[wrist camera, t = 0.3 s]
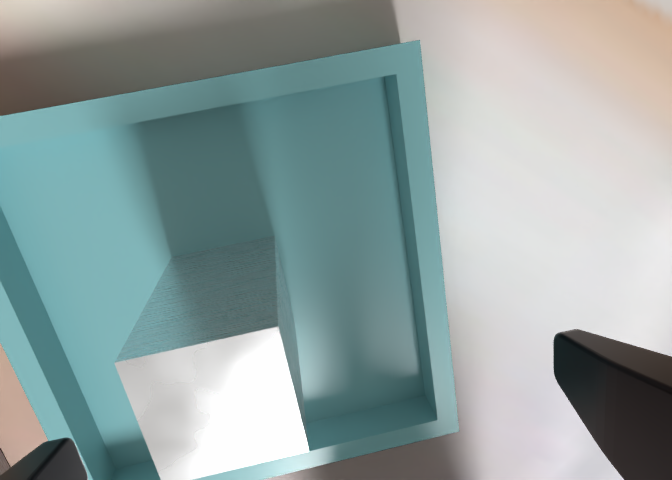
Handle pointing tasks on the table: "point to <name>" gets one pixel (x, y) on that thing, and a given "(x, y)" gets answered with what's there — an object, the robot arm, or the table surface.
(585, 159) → the table surface
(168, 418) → the billet
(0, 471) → the dark grey tray
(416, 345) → the teal tray
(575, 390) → the robot arm
